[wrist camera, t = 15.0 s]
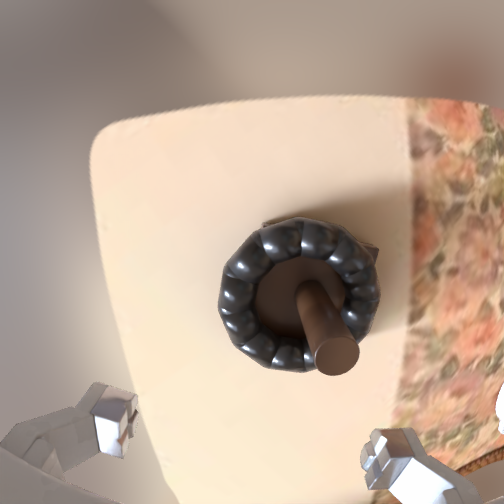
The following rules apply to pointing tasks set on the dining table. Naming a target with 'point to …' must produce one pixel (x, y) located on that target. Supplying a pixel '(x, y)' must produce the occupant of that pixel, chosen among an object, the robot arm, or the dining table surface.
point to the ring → (280, 250)
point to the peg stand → (310, 309)
